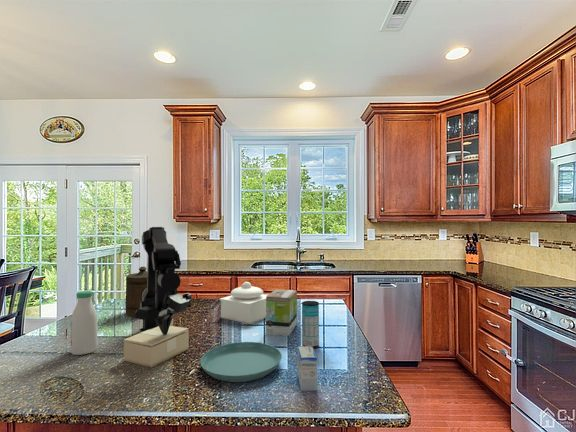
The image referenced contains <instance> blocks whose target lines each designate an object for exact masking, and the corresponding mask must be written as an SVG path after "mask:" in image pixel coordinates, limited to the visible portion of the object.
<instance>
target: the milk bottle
mask: <svg viewBox="0 0 576 432" xmlns="http://www.w3.org/2000/svg"><path fill="white" fill-rule="evenodd" d="M92 298H93V291H92V290H83V291H78V292H77V293H76V301H77V302H76V305H75V308H74V310H73V311H72V314H71V318H70V353H71V355H73V356H82V355H87V354H91V353H93V352H95V351H97V349H98V313H97V312H98V311H97V310H96V308H95V306H94V303H93V301H92Z"/></svg>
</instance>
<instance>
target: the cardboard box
mask: <svg viewBox="0 0 576 432" xmlns="http://www.w3.org/2000/svg"><path fill="white" fill-rule="evenodd" d="M189 335H190V333H189V330H188V331H185V332H183V333H181V334H178V335H176V336H174V337H172V338H169V339H167V340H165V341H162V342H160V343H158V344H155V345H153V346H149V345H143V344H137V343H131V342H125V341H124V340H123V361H124V362H128V363H132V364H136V365H139V366H144V367H147V368H155V367H156V366H158V365H160V364H162V363H163V362H164V363H165V362H166V361H167V360H170V359H171V358H174V357H176V356H177V355H180V354H182V353H184V352H185V351H188V350H189V349H190V348H189V347H190V346H189V345H190V344H189V343H190V342H189V338H190V336H189Z"/></svg>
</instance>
